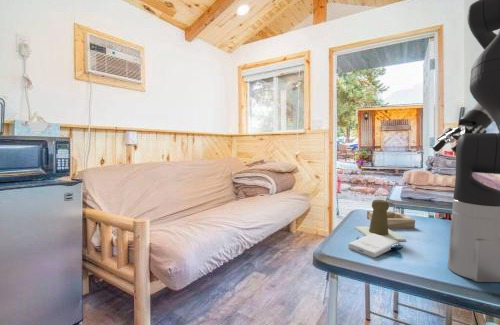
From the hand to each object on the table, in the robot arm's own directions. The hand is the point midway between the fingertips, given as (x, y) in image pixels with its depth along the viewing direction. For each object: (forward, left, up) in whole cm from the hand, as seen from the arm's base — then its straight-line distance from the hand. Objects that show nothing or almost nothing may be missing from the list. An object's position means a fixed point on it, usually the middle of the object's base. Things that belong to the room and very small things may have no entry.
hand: (443, 150), depth 89 cm
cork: (-2, +22, -28) cm, 36 cm away
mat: (-2, +22, -29) cm, 36 cm away
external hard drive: (-14, +29, -29) cm, 43 cm away
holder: (+11, +11, -29) cm, 33 cm away
